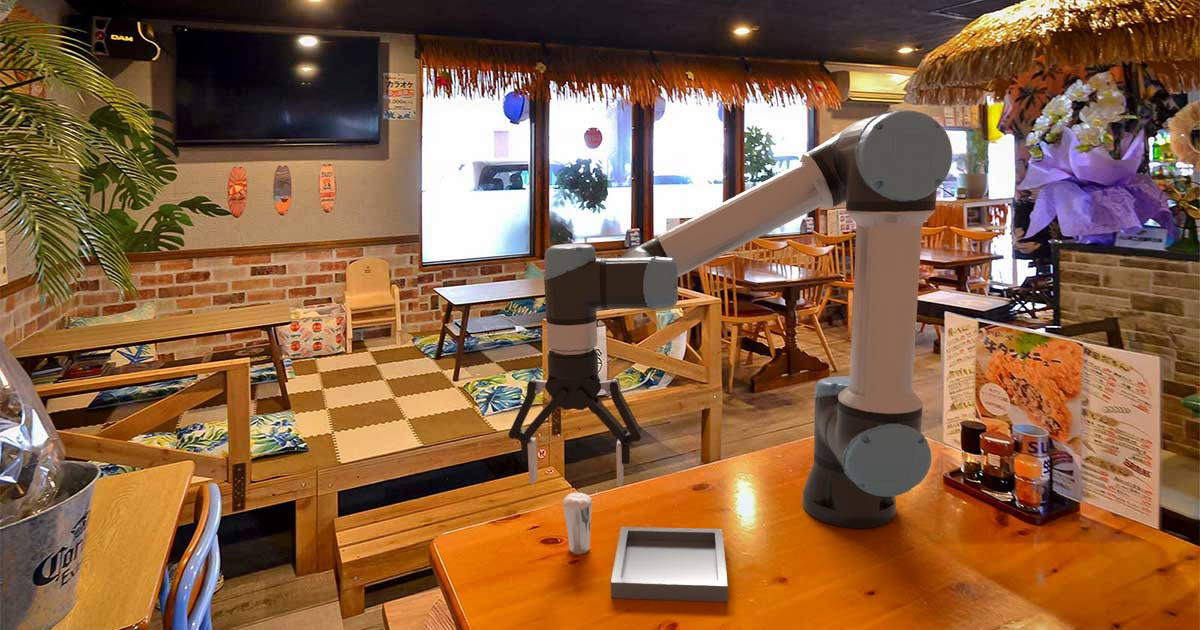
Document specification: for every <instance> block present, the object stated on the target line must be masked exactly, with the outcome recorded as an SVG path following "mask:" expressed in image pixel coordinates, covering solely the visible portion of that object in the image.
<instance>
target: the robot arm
mask: <svg viewBox="0 0 1200 630" xmlns="http://www.w3.org/2000/svg"><path fill="white" fill-rule="evenodd" d="M801 155H802V156H801V158H800V161H799V163H797V164H796V165H794V166H792V167H790V168H788V169H786V170H784V171H782V172H780V173H779V174H776V175H774V176H772V177H771V178H769V179H767V180H765V181H763V182H761V183H759V184H757V185H755V186H753V187H751V188H749V189H747V190H745V191H743V192H741V193H739V194H736V196H733V197H732V198H729V199H727V200H725V201H724V202H721V203H719V204H718V205H716V206H714V207H712V208H710V209H708V210H706V211H704V212H702V213H700V214H698V215H696V216H695V217H692V218H690V219H688V220H686V221H684V222H682V223H681V224H679V225H677V226H675V227H673V228H670V229H668V230H667V231H665V232H663V233H661V234H659V235H657V236H656V237H655V238H652V239H650V240H648V241H646V242H643V243H642V244H640V245H635V246H632V247H630V248H628V249H626V250H625V251H623V252H622V254H621V255H620V256H619V257H613V258H612V257H609V258H608V257H607V258H606V257H597V254H596V250H595V249H596V248H595V246H594V245H592V244H587V243H581V244H580V243H564V244H563V243H562V244H557V245H556V244H554V245H552V246H549V247H548V248H547V249H546V251H545V253H544V276H543V283H544V300H545V301H544V303H545V314H546V315H545V317H546V318H545V320H546V321H545V326H546V347H547V348H549V350H548V351H547V375H548V376H547V380H545V379H539V378H538V377H537V376H533V377H531V378H530V380H529V381H528V383H527V386H526V387H527V388H526V396H525V398H524V400H523V402H522V405H521V407H520V409H519V410H518V413H517V415H516V417H515V420H514V422H513V424H512V426H511V428H510V431H509V432H508V437H509V438H510V439H512V440H513V439H515V440H518V441H519V442H520V445H521V446H520V449H521V460H522V461H523V462H528V481H529V482H528V483H529V484H530V485H534V484H535V483H536V481H537V478H538V476H539V474H538V455H537V453H538V451H537V438H536V437H533V435H534V434H535V433H536V432H537V431H538V429H539V428H540V427H542V425H543V424H544V423H545V421H546V420H547V419H548V418H549V417H550V415H552V413H554V411H555V409H557V407H559V408H561V409H562V410H564V411H569V410H572V409H573V410H577V411H584V410H585V409H587V408H588V409H589V410H590V412H591V413H593V414H594V415H596V416H597V418H598V419H599V420H600V421H601V423H603V424H604V426H606V428H607V429H608V430H609V432H611V434H612V435H613V436H614V437H615V438H616V439H617V441H616V446H615V447H616V448H615V449H616V451H615V454H616V455H615V456H616V460H615V461H616V487H623V483H624V465H629V463H630V460H631V444H632V443H633V442H639V441H641V438H642V429H641V427H640V425H639V423H638V421H637V419H636V418H635V416H634V413H633V412H632V410H631V408H630V406H629V405H628V403H627V401H626V399H625V397H624V394H623V393H622V392H621V384H620V380H619V378H618V377H613V378H612V379H611V380H610V379H609V380H601V379H600V377H599V362H598V361H599V359H598V358H599V357H598V356H599V355H598V354H599V353H598V350H597V349H596V348H595V347H596V346H597V345H598V327H597V326H598V322H597V310H615V309H616V310H617V309H618V310H623V309H624V310H630V309H631V310H638V309H639V310H652V311H655V310H657V309H671V308H673V307H675V306H676V305H677V303H678V295H679V294H678V292H679V291H678V290H679V280H678V279H679V278H680V277H681V276H684V275H686V274H688V273H689V272H691V271H693V270H695V269H697V268H700V267H701V266H704V265H706V264H707V263H710V262H712V261H714V260H716V259H718V258H720V257H722V256H725V255H726V254H727V253H730V252H732V251H734V250H736V249H738V248H740V247H742V246H744V245H746V244H748V243H750V242H751V241H754V240H756V239H757V238H761V237H762V236H764V235H766V234H769V233H770V232H773V231H774V230H776V229H778V228H780V227H782V226H784V225H787V224H788V223H791V222H792V221H794V220H796V219H798V218H800V217H803V216H804V215H806V214H808V213H810V212H812V211H815V210H816V209H819V208H825V209H828V210H831V209H833V208H835V207H837V206H839V205H841V204H843V203H845V213H846V214H847V215H848V216H849V217H850V219H852V221H854V223H855V225H856V229H855V230H856V231H855V251H854V255H855V256H854V272H853V275H854V277H853V294H852V295H853V296H852V297H853V299H852V317H851V318H852V320H851V338H850V339H851V341H850V343H851V344H850V363H849V365H850V366H849V375H846V376H845V375H841V376H829V377H824V378H822V379H820V380H818V382H817V383H816V384H815V389H814V396H813V399H814V421H813V422H814V423H813V425H814V430H813V433H814V434H813V435H814V437H813V441H814V443H813V463H812V466H811V468H810V471H809V474H808V476H807V479H806V482H805V485H804V487H803V489H802V507H803V509H804V510H805V511H806V513H807V514H809V515H810V516H811V517H813V518H814V519H817V520H819V521H820V522H824V523H827V524H829V525H833V526H837V527H841V528H842V527H843V528H849V529H850V528H851V529H871V528H878V527H880V526H881V527H882V526H884V525H887V524H888V523H890V522H892V521H893V520H894V519H895V517H896V515H897V514H896V513H897V511H896V510H897V501H896V497H897V496H901V495H904V494H906V493H908V492H910V491H912V489H913V488H915V487H916V486H917V485H920V484H921V483H922V482H923V481H924V479H925V478H926V477H927V475H928V473H929V471H930V468H931V465H932V451H931V447H930V445H929V441H928V439H927V438H926V437H925V435H923V433H922V423H923V422H922V421H923V405H924V403H923V399H922V398H921V397H919V396H918V395H917V393H916V392H915V391H914V390H913V381H914V366H915V365H914V364H915V363H914V362H915V348H916V330H917V315H918V302H919V301H918V299H919V282H920V265H921V250H922V238H923V236H922V233H923V225H924V222H926V221H927V220H928V219H929V218H930V217H931V216H933V215H934V214H935V213H936V208H937V207H936V206H937V205H936V203H937V192H938V191H937V190H938V188H939V187H940V186H941V185H942V183H944V182H945V180H946V178H947V176H948V175H949V173H950V170H951V166H952V162H953V146H952V143H951V140H950V137H949V135H948V133H947V131H946V130H945V128H944V127H943V126H942V125H941V124H940V123H939V121H937V120H936V119H935V118H934V117H931V116H930V115H928V114H927V113H924V112H920V111H916V110H907V109H906V110H901V109H897V110H891V111H884V112H882V113H879V114H877V115H875V116H869V117H866V118H862V119H859V120H858V121H855V122H854V123H852V124H850V125H848V126H847V127H845V128H844V129H843V130H841V131H840V132H838V133H836V134H835V135H834V136H833V137H831V138H830V139H828V140H826V141H824V142H823V143H821V144H820V145H818V146H816V147H814V148H813V149H811V150H809V151H807V152H805V153H803V154H801ZM544 389H545V391H546V392H547V393H548V395H549V396H550V397H551V399H550V400H549V402H548V403H547V404H546V405H545V406H544V408H543V409H542V410H541V411H540V412H539V413H538V414H537V416H536V417H535V418H534V420H533V421H532V422H531V423H530V424H529V425H528V427H526V429H522V427H523V425H524V422H525V421H526V418H527V416H528V415H529V413H530V410H531V408H532V406H533V403H534V402H535V399H536V397H537V395H540V394H541V393H542V391H543V390H544ZM601 390H604V391H605V394H606V395H608V396H610V398H611V400H612V402H613V404H614V406H615V408H616V410H617V412H618V413H619V416H620V417H621V419H622V421H623V423H624V425H625V426H626V428H627V429H626V428H625V427H624V426H623V424H622V423H620V422H619V420H618V419H617V418H616V417H615V416H614V414H613V413H612V412H611V411H610V410H609V409H608V408H607V407H606V406H605V405H604V403H603V401H602V400H601V398H600V397H598V394H599V393H600V392H601ZM627 430H628V431H627Z"/></svg>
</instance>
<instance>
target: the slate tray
mask: <svg viewBox="0 0 1200 630" xmlns="http://www.w3.org/2000/svg"><path fill="white" fill-rule="evenodd" d="M618 536H619V537H618V542H617V548H616V553H615V558H614V561H613V562H614V563H613V568H612V574H611V579H610V596H611V599H625V600H626V599H629V600H655V601H656V600H658V601H660V600H661V601H684V602H686V601H687V602H688V601H691V602H712V603H713V602H715V603H716V602H717V603H728V602H729V596H728V595H729V593H728V592H729V585H728V575H727V564H726V554H725V544H724V534H723V528H700V527H699V528H696V527H695V528H694V527H693V528H688V527H645V526H644V527H641V526H640V527H639V526H620V531H619V535H618Z"/></svg>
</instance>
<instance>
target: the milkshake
mask: <svg viewBox="0 0 1200 630" xmlns="http://www.w3.org/2000/svg"><path fill="white" fill-rule="evenodd" d="M596 492H597V491H595V492H594V495H593V496H592V498H591V496H589V495H588V494H586V493H583V492H573V493H568V494H567V495H566V496H565V497H564V498H563V500H562V507H563V514H564V518H565V523H566V532H567V538H568V539H567V540H568V545H569V546H568V548H569V552H570V553H573V554H574V555H575V554H576V555H582V554H586V553H588V552H589V550H590V549H591V524H592V523H591V522H592V505H593V500H594V497H595V495H596Z"/></svg>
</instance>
